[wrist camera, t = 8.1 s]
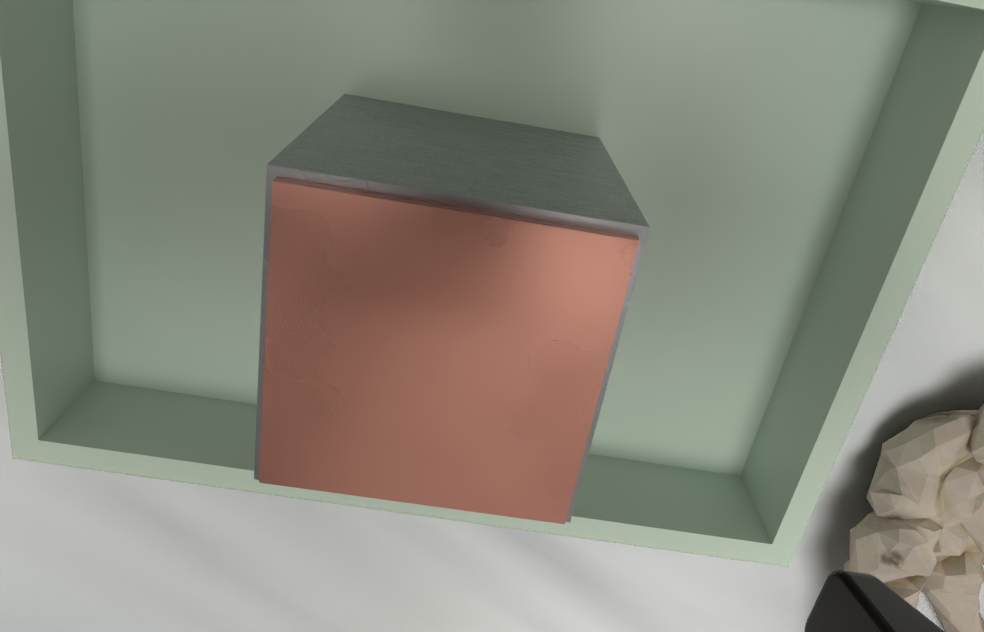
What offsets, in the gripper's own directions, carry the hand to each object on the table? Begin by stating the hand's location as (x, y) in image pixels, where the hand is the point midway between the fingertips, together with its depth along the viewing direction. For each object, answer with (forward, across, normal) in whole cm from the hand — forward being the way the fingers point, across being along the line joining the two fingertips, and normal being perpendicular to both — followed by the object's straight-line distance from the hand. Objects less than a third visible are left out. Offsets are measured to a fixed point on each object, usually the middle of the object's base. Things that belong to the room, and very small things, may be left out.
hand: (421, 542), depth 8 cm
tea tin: (+10, 0, 0) cm, 10 cm away
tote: (+11, 0, 0) cm, 11 cm away
